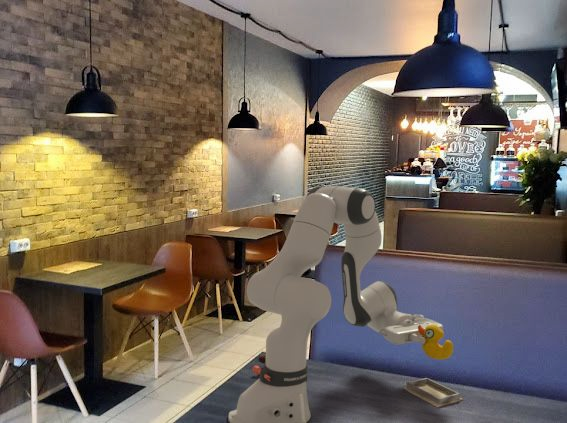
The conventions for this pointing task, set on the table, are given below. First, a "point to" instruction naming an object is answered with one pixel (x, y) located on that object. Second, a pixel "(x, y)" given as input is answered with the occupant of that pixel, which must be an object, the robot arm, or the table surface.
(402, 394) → the table surface
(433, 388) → the shallow wooden tray
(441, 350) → the duckling
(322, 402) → the table surface
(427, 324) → the robot arm
